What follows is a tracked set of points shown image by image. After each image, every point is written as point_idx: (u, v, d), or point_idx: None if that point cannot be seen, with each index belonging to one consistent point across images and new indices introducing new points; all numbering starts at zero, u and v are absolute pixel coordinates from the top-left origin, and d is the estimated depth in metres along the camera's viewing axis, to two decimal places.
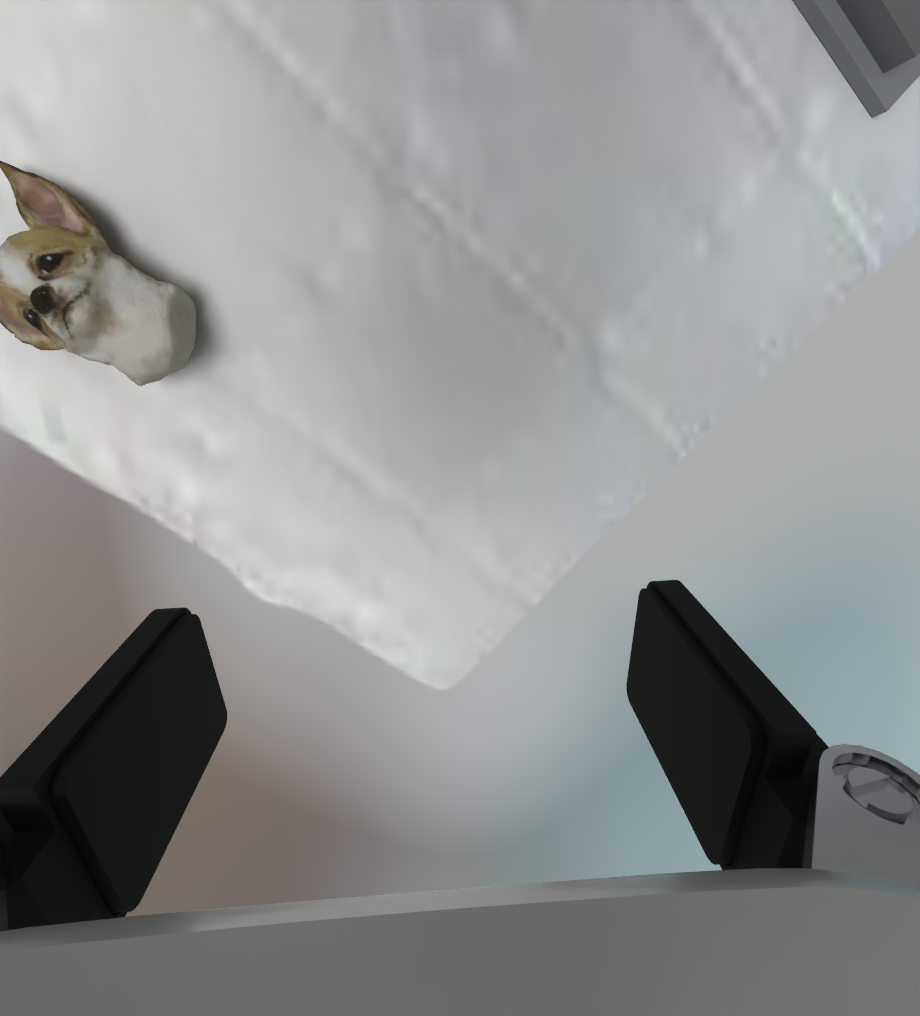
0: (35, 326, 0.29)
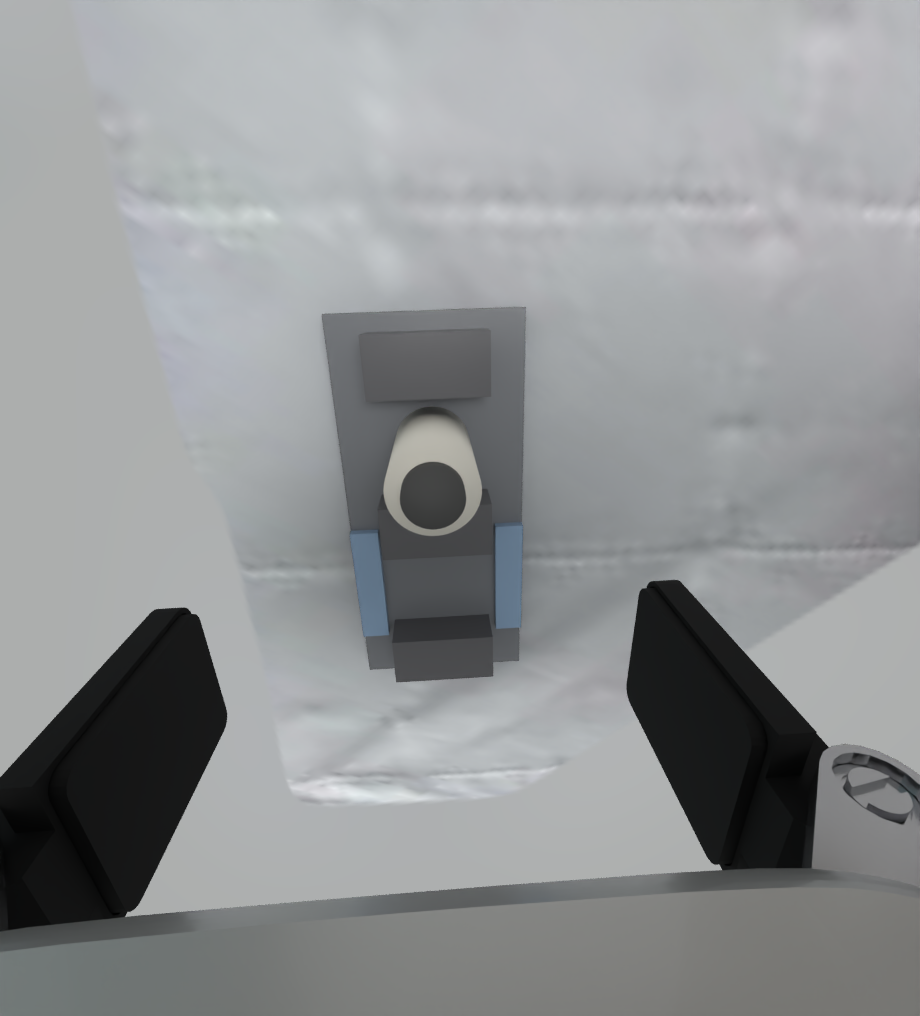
0: None
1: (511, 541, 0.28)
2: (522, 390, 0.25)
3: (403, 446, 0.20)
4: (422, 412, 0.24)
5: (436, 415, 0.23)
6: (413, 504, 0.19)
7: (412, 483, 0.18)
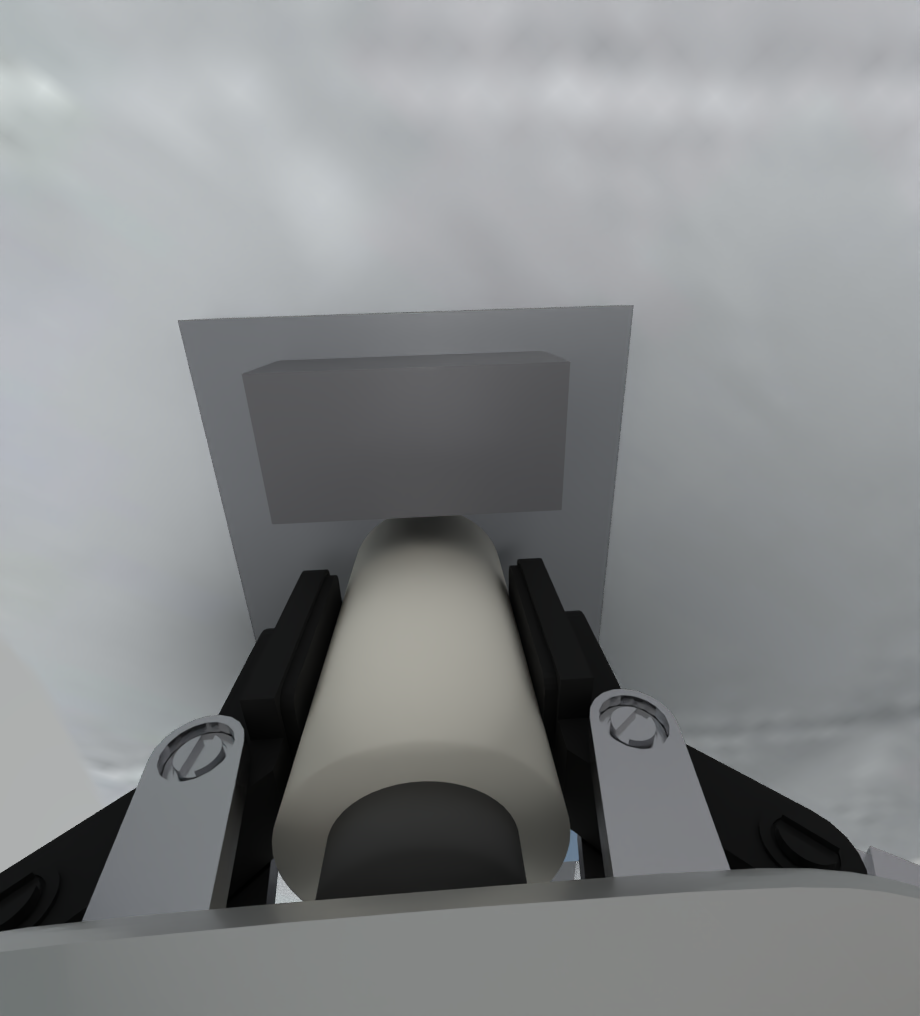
0: None
1: None
2: (612, 476, 0.12)
3: (338, 699, 0.07)
4: (404, 530, 0.11)
5: (434, 544, 0.10)
6: None
7: (350, 886, 0.05)
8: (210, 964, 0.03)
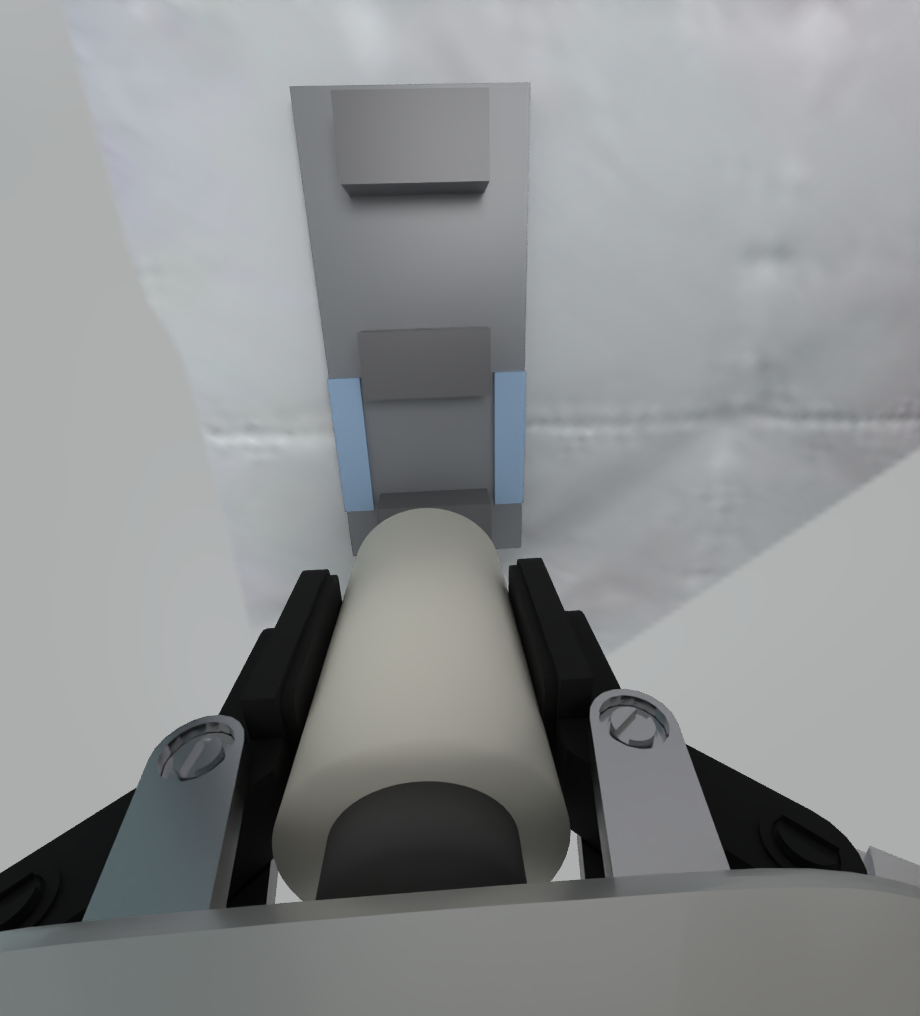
0: None
1: (512, 392, 0.24)
2: (526, 195, 0.22)
3: (338, 699, 0.07)
4: (404, 530, 0.11)
5: (434, 544, 0.10)
6: None
7: (349, 887, 0.05)
8: (210, 964, 0.03)
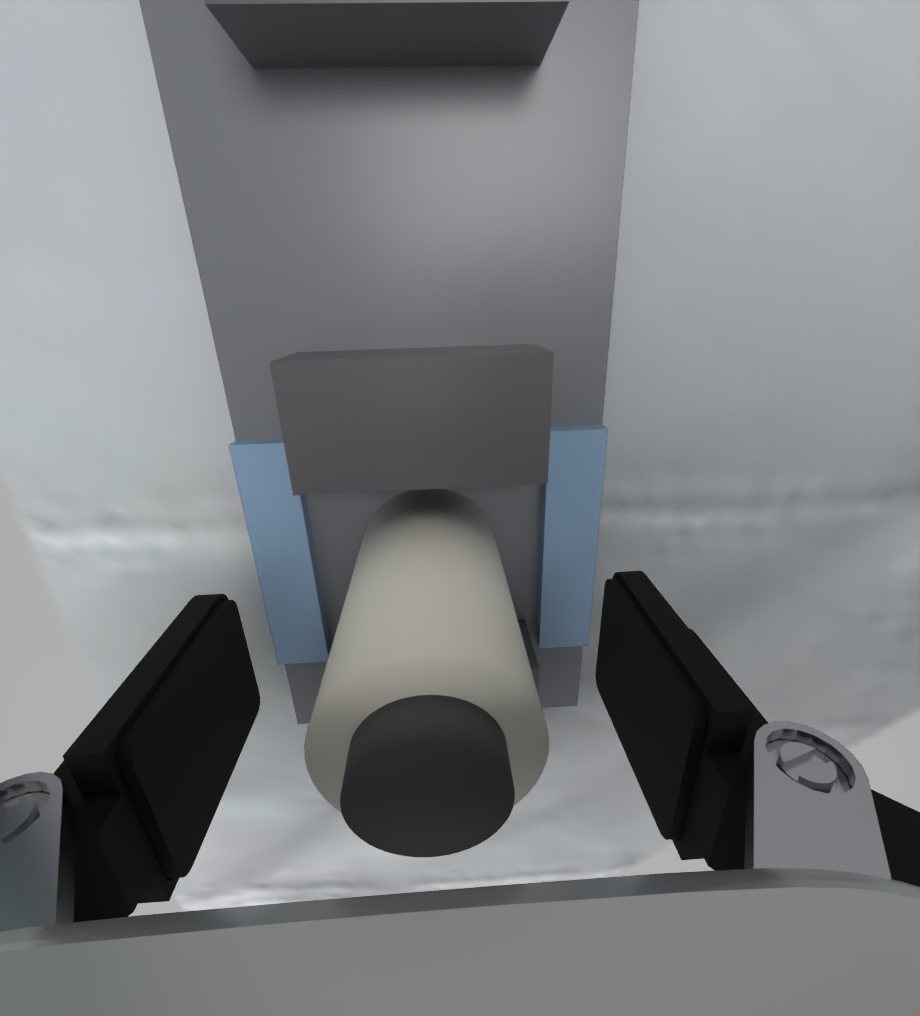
0: None
1: (580, 465, 0.13)
2: (628, 72, 0.10)
3: (356, 635, 0.08)
4: (409, 505, 0.13)
5: (436, 517, 0.12)
6: (377, 813, 0.07)
7: (370, 771, 0.07)
8: (210, 964, 0.03)
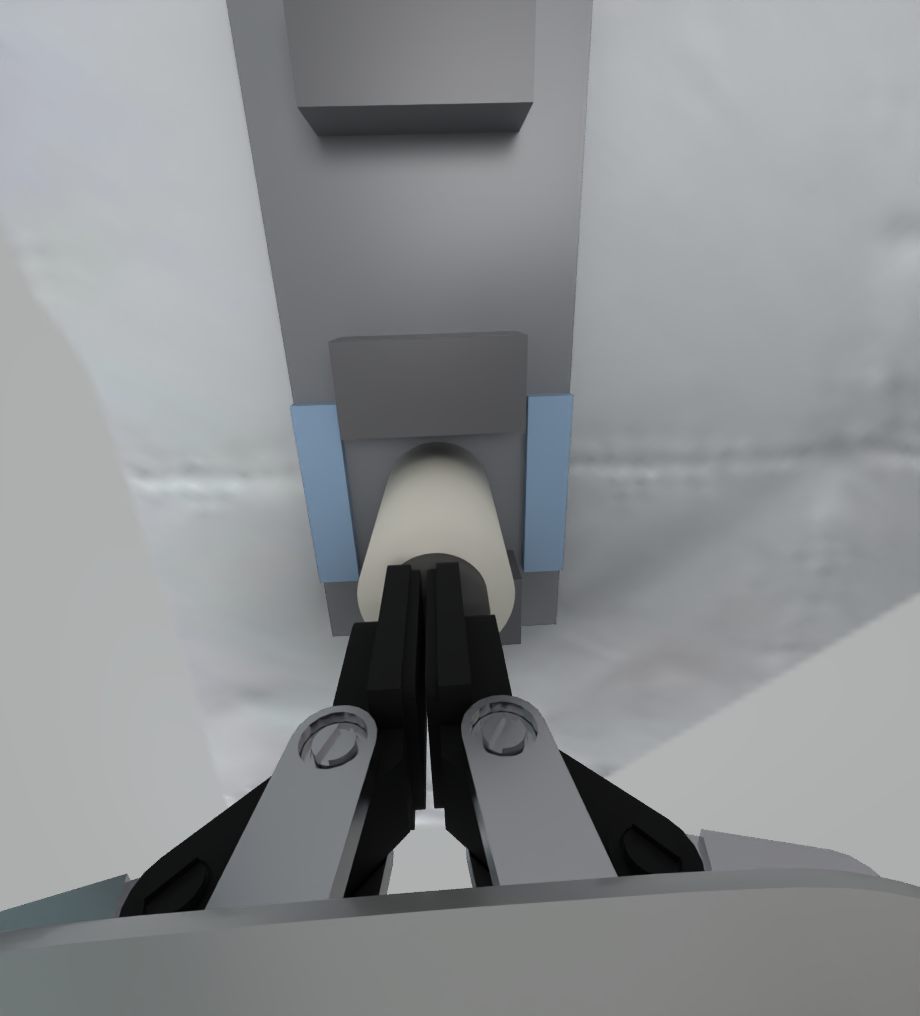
0: None
1: (553, 423, 0.17)
2: (581, 136, 0.14)
3: (390, 521, 0.12)
4: (424, 452, 0.17)
5: (444, 459, 0.16)
6: None
7: None
8: (210, 964, 0.03)
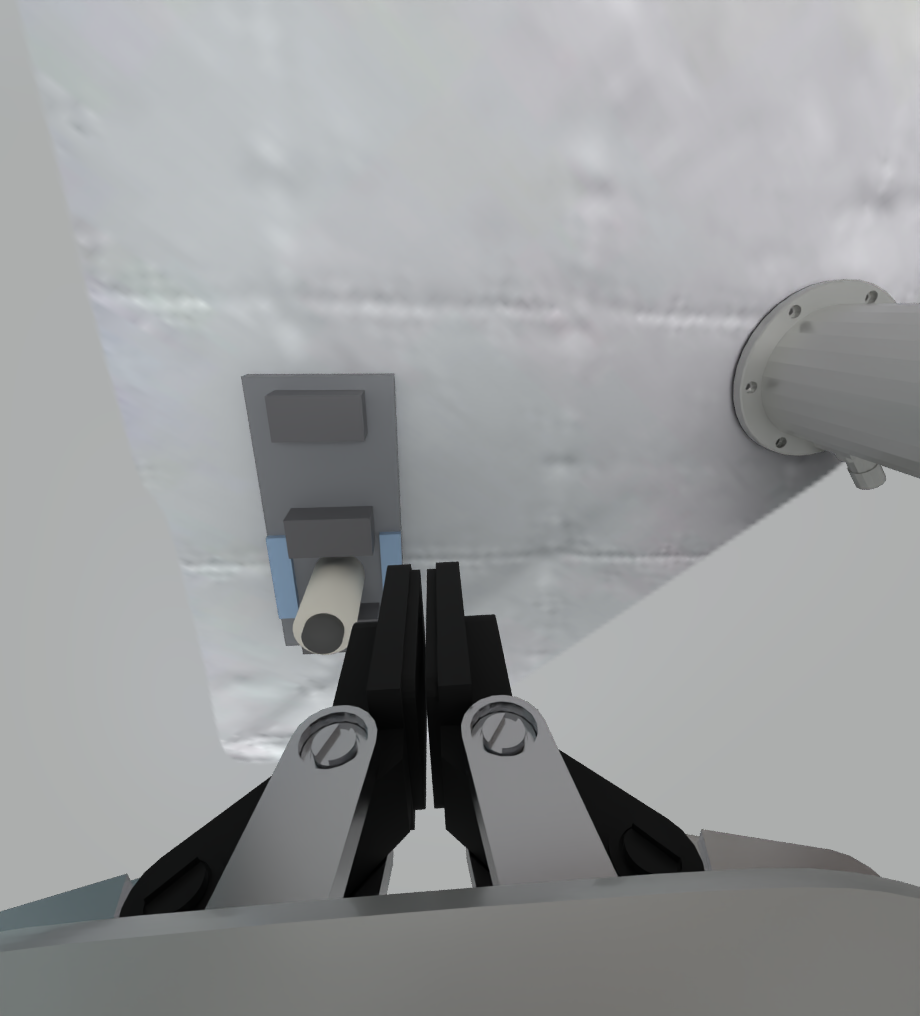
0: None
1: (392, 546, 0.37)
2: (394, 434, 0.34)
3: (307, 599, 0.32)
4: (329, 559, 0.36)
5: (337, 565, 0.35)
6: (309, 640, 0.30)
7: (308, 628, 0.30)
8: (210, 964, 0.03)
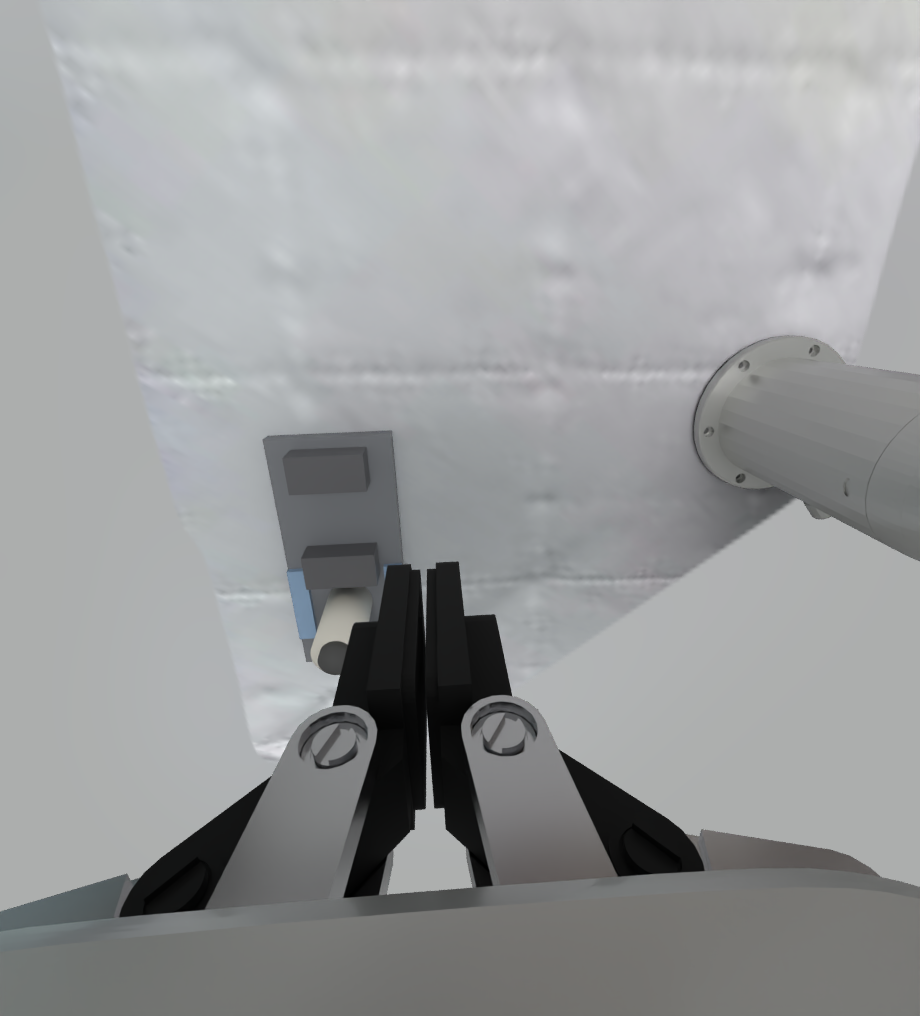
0: None
1: None
2: (393, 482, 0.39)
3: (322, 628, 0.37)
4: (341, 589, 0.42)
5: (348, 595, 0.41)
6: (324, 663, 0.36)
7: (323, 654, 0.36)
8: (210, 964, 0.03)
